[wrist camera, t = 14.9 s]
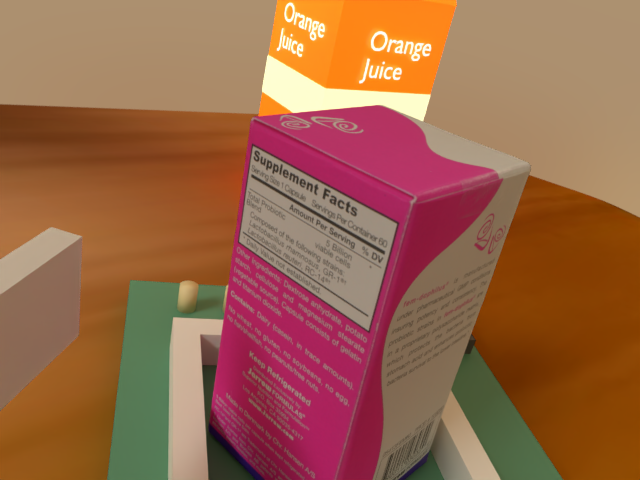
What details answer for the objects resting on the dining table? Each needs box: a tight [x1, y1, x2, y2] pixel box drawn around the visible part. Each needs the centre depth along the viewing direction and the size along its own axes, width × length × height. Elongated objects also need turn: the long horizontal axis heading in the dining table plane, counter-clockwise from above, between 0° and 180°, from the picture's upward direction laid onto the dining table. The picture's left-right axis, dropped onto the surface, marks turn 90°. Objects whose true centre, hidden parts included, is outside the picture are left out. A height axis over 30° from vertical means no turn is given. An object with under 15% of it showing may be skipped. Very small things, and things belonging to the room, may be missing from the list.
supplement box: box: [208, 105, 531, 480], centre depth 19 cm, size 6×6×12 cm
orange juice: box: [259, 0, 457, 121], centre depth 41 cm, size 8×9×20 cm
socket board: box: [107, 280, 563, 480], centre depth 23 cm, size 16×16×2 cm
